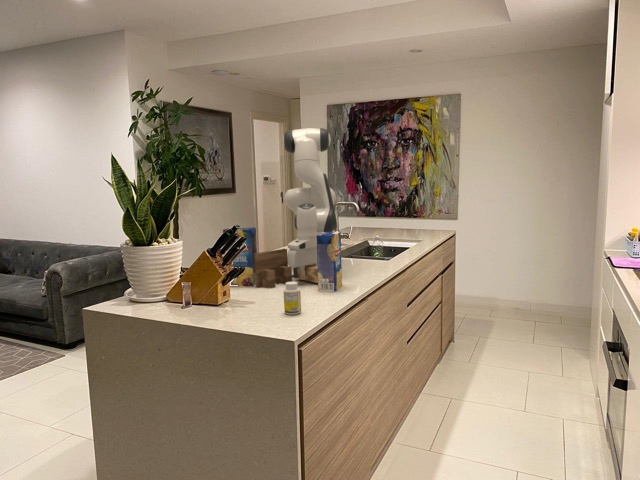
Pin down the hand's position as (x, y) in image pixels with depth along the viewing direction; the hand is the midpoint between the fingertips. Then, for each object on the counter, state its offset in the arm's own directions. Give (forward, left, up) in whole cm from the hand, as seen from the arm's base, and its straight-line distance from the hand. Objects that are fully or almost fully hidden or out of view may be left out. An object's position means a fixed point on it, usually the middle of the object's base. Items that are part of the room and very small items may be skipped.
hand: (309, 274), depth 210 cm
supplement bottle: (+35, +31, -3) cm, 47 cm away
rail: (0, +1, -2) cm, 2 cm away
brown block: (+12, -8, -3) cm, 15 cm away
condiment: (-5, -13, -3) cm, 14 cm away
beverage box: (+3, +16, -3) cm, 16 cm away
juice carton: (+21, -19, -3) cm, 29 cm away
